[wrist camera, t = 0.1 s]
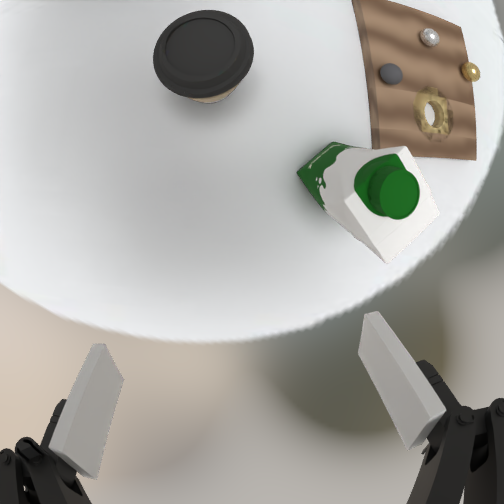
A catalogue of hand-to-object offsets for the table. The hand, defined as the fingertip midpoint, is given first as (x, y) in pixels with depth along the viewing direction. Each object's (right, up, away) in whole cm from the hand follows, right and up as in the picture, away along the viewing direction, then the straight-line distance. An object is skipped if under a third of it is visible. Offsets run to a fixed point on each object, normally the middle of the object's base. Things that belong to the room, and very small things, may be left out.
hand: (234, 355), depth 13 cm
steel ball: (+28, +37, +13) cm, 48 cm away
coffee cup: (-5, +28, +19) cm, 34 cm away
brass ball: (+37, +35, +14) cm, 53 cm away
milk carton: (+12, +16, +25) cm, 32 cm away
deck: (+28, +33, +19) cm, 47 cm away
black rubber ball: (+20, +29, +15) cm, 38 cm away
